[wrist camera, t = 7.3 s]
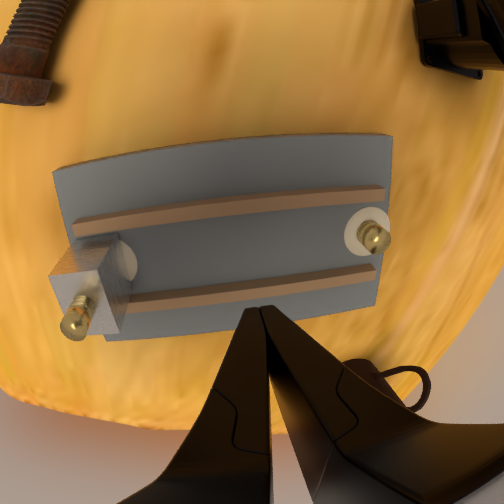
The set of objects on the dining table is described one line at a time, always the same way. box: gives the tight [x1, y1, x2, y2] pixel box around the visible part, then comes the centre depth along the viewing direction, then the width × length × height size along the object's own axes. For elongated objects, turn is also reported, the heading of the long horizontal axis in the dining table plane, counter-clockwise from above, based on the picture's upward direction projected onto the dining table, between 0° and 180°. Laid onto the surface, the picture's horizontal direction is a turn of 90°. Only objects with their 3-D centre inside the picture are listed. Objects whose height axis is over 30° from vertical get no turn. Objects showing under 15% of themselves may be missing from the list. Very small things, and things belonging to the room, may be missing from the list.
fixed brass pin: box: [356, 220, 391, 255], centre depth 20 cm, size 2×2×2 cm
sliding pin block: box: [48, 234, 133, 341], centre depth 16 cm, size 3×4×6 cm
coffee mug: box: [343, 359, 431, 413], centre depth 25 cm, size 12×9×10 cm
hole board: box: [52, 133, 393, 342], centre depth 20 cm, size 21×13×2 cm, turn 94°
